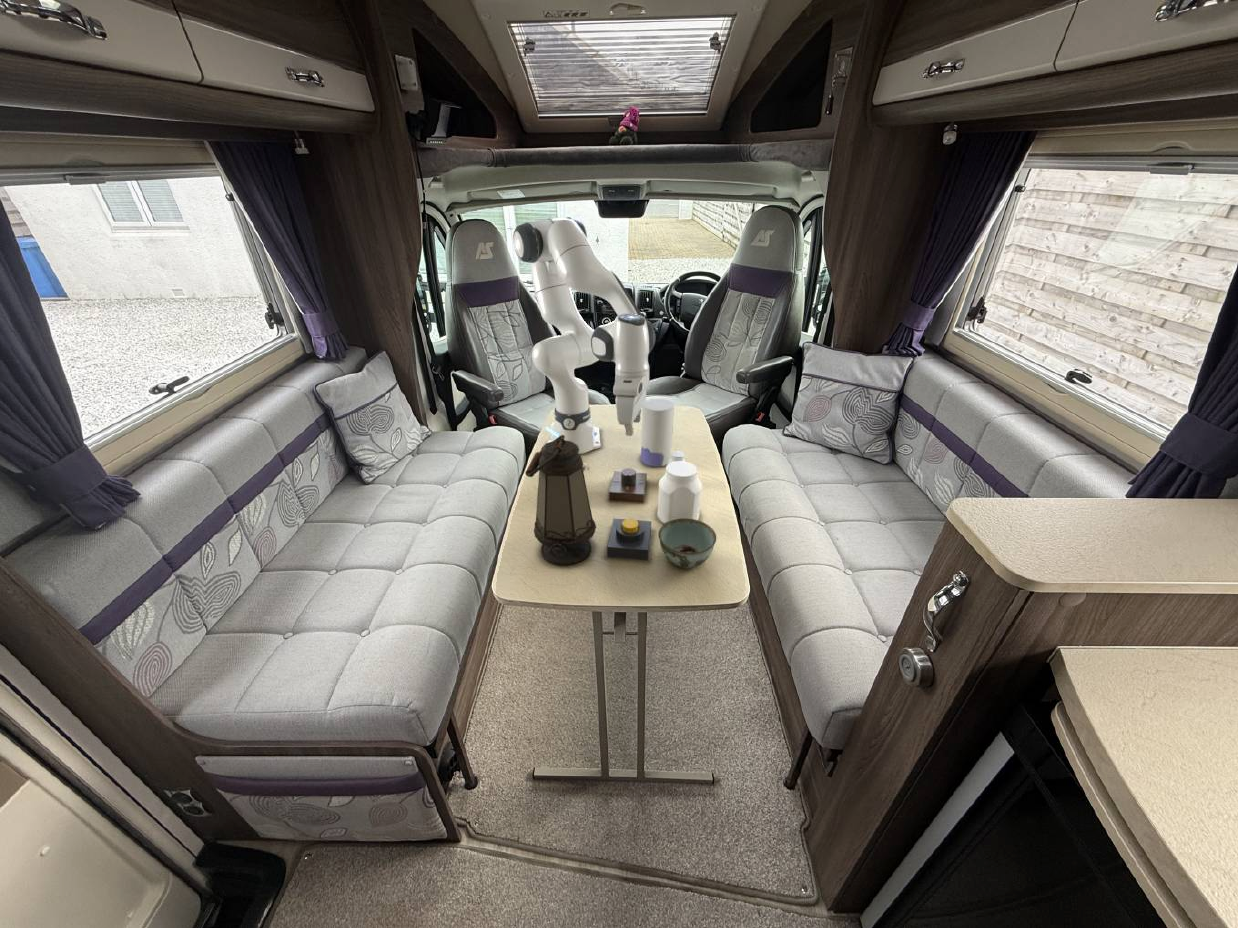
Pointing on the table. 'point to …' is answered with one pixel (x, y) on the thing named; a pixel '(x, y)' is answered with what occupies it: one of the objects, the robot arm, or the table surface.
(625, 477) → the knob
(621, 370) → the robot arm
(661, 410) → the container
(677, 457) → the supplement bottle
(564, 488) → the lantern
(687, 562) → the bowl
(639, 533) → the trigger housing
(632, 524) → the cylinder
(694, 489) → the jar
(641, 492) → the dial panel
